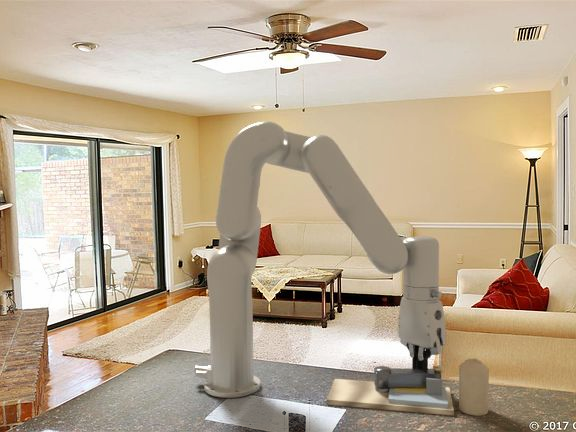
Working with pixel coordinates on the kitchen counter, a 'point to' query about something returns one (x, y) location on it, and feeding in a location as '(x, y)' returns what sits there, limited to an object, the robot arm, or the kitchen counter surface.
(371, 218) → the robot arm
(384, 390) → the pivot post
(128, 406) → the kitchen counter surface
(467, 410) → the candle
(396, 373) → the latch bar
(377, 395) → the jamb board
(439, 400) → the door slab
